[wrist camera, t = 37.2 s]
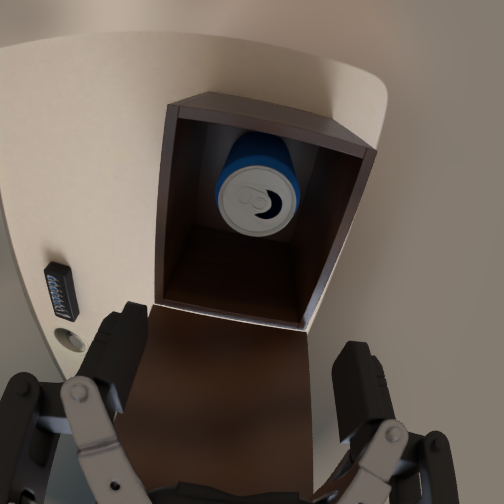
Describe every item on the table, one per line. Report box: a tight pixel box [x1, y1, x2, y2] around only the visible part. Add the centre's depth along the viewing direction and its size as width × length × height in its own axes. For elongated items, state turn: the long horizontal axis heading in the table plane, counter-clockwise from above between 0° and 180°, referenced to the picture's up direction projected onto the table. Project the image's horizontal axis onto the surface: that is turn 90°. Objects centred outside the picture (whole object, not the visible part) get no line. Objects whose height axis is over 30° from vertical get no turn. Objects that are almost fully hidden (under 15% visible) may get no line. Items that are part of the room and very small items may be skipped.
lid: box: [95, 305, 313, 504], centre depth 20 cm, size 17×14×6 cm
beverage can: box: [215, 131, 300, 237], centre depth 27 cm, size 6×6×12 cm
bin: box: [155, 92, 377, 330], centre depth 28 cm, size 17×14×14 cm
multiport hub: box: [44, 262, 79, 322], centre depth 44 cm, size 4×11×2 cm, turn 167°
